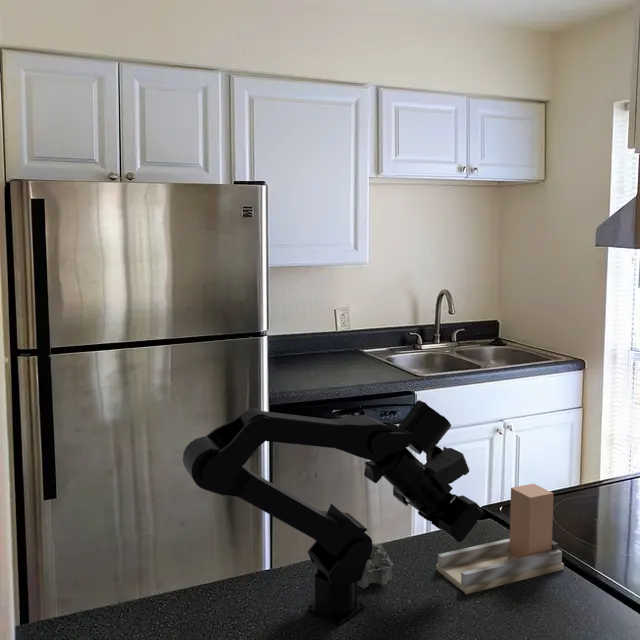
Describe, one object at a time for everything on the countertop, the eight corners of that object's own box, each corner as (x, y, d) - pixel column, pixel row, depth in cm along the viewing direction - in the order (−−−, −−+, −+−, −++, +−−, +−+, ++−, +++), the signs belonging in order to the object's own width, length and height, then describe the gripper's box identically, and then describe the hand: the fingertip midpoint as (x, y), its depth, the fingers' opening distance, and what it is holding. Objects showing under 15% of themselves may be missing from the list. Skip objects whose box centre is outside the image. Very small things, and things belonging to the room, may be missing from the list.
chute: (466, 594, 107) (466, 570, 106) (436, 569, 115) (436, 547, 114) (563, 569, 114) (564, 547, 114) (528, 547, 123) (529, 527, 122)
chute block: (528, 565, 114) (530, 497, 112) (509, 552, 118) (510, 487, 117) (551, 559, 116) (553, 493, 114) (531, 547, 120) (533, 483, 119)
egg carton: (338, 561, 119) (337, 539, 118) (378, 557, 120) (378, 535, 120) (351, 591, 108) (351, 567, 108) (396, 586, 110) (396, 562, 109)
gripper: (474, 452, 98) (531, 513, 104) (409, 422, 115) (461, 475, 121) (427, 512, 96) (487, 570, 102) (368, 471, 113) (422, 523, 119)
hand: (464, 530), depth 111 cm, fingers closed
